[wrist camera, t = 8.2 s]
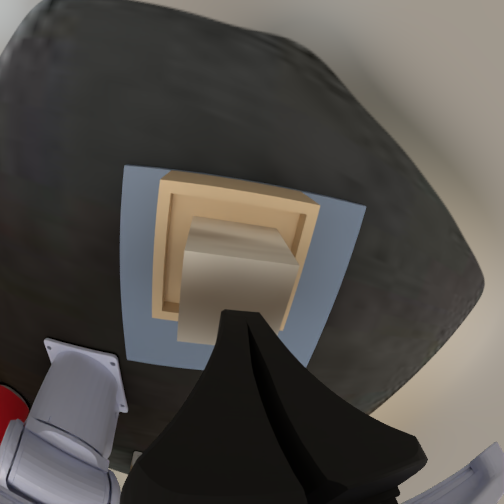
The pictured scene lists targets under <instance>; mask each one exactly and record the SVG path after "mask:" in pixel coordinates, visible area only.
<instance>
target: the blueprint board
mask: <svg viewBox="0 0 504 504" xmlns="http://www.w3.org/2000/svg"><path fill="white" fill-rule="evenodd" d="M365 210H366V206H364V205H362V204H358V203H354V202H350V201H346V200H342V199H338V198H334V197H330V196H325V195H321V194H316V193H312V192H307V191H302V190H298V189H293V188H288V187H283V186H278V185H273V184H267V183H262V182H256V181H251V180H245V179H239V178H233V177H227V176H220V175H214V174H207V173H200V172H192V171H185V170H177V169H168V168H159V167H150V166H140V165H129V164H127V165H125V166H124V176H123V187H122V201H121V221H120V283H121V302H122V316H123V328H124V338H125V347H126V355H127V360H132V361H137V362H143V363H150V364H156V365H163V366H171V367H179V368H187V369H197V370H204V369H205V367H206V365H207V363H208V360H209V358H210V356H211V353H212V351H213V349H214V346H215V345H207V344H197V343H189V342H180V341H177V331H178V316H179V302H180V290H181V279H182V269H183V259H184V250H185V246H186V242H187V238H188V234H189V230H190V226H191V222H192V218H193V216H198V217H205V218H212V219H219V220H226V221H232V222H239V223H245V224H252V225H258V226H265V227H271V228H277V230H278V232H279V233H280V235H281V236H282V238H283V240H284V241H285V243H286V244H287V246H288V248H289V249H290V251H291V252H292V254H293V256H294V257H295V259H296V261H297V262H298V264H299V265H300V266H299V269H298V273H297V276H296V279H295V283H294V286H293V289H292V292H291V296H290V299H289V302H288V305H287V308H286V311H285V314H284V317H283V321H282V324H281V327H280V330H279V333H278V337H279V339H280V340H281V341H282V342H283V343H284V345H285V346H286V347H287V348H288V349H289V351H290V352H291V353H292V354H293V355H294V356H295V357H296V358H297V360H298V361H299V362H300V363H301V364H302V365H303V366H304V367H305V368H306V367H307V364H308V362H309V360H310V358H311V356H312V353H313V351H314V349H315V347H316V344H317V342H318V340H319V338H320V335H321V333H322V331H323V328H324V326H325V323H326V321H327V319H328V316H329V314H330V311H331V309H332V306H333V304H334V301H335V298H336V296H337V293H338V291H339V288H340V285H341V283H342V280H343V277H344V274H345V272H346V269H347V266H348V263H349V260H350V257H351V254H352V251H353V248H354V245H355V242H356V239H357V236H358V233H359V230H360V227H361V223H362V220H363V217H364V213H365Z"/></svg>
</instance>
